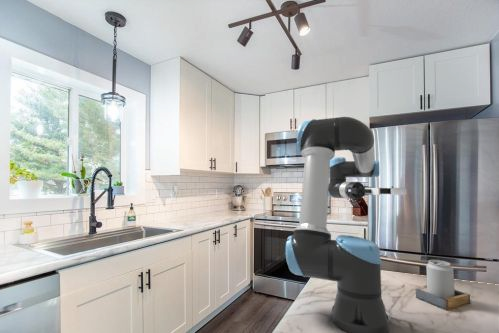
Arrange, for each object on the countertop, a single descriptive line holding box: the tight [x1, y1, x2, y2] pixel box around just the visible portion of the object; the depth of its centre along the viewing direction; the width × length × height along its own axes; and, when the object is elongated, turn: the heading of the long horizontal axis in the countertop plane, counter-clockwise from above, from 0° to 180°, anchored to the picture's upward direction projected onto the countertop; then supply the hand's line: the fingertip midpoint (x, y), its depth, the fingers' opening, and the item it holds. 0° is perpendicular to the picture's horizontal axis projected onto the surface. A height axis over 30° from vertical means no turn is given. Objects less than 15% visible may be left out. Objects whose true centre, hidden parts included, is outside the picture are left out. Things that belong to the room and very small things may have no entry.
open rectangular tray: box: [415, 288, 472, 311], centre depth 90 cm, size 12×10×3 cm
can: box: [426, 259, 455, 299], centre depth 91 cm, size 8×8×12 cm
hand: (393, 191), depth 101 cm, fingers open, 13 cm apart
